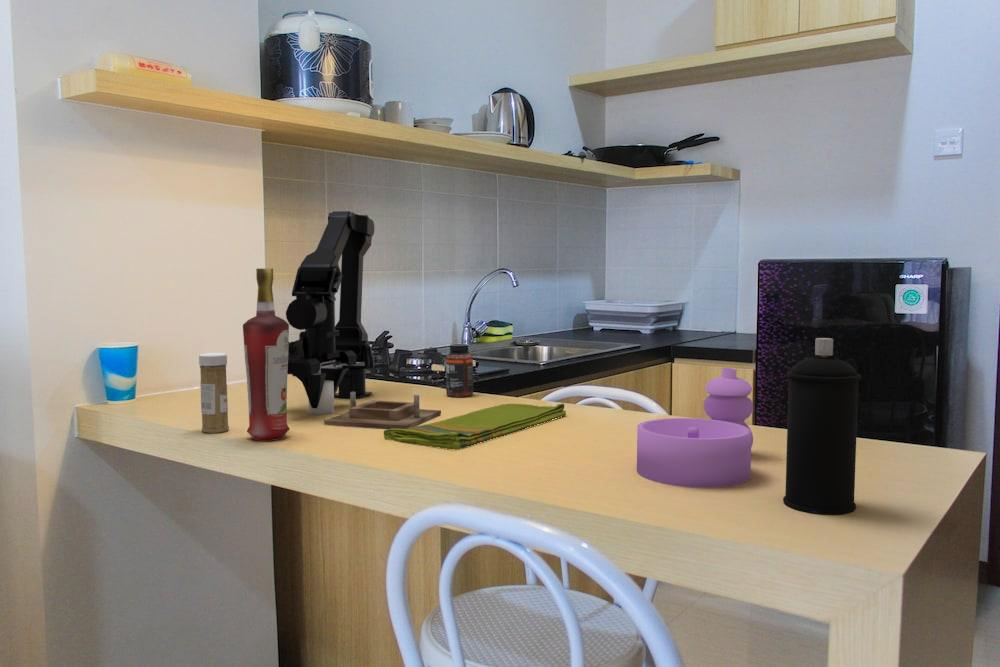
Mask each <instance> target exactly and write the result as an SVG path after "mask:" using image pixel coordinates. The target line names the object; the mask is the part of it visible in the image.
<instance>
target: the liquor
mask: <svg viewBox="0 0 1000 667" xmlns="http://www.w3.org/2000/svg"><path fill="white" fill-rule="evenodd" d="M255 271H256V272H255V274H256V283H257V284H256V285H257V299H256V301H257V302H256V313H255V314H256V315H255V316H253V317H251V318H249V319H247V321H246V322H244V323H243V324H242V330H243V331H242V332H243V333H242V336H243V352H244V364H245V373H246V374H245V375H246V384H247V386H246V388H247V403H248V424H249V426H248V428H247V430H246V432H247V434H249V435H250V436H251V437H252V439H254V440H255V441H268V442H270V441H276V440H281V439H283V437H284V436H286V434H287V433H288V432H289V431H290V426H289V425H288V421H287V420H288V419H287V418H288V416H287V415H288V414H287V413H288V410H287V408H288V406H287V403H288V402H287V401H288V374H287V372H288V342H290V341H289V337H290V336H289V335H290V334H289V332H290V331H289V330H290V324H289V322H288V321H286V320H285V319H283V318H282V317H279V316H277V315H276V311H275V302H274V301H275V300H274V295H273V283H274V268H256V269H255Z"/></svg>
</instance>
